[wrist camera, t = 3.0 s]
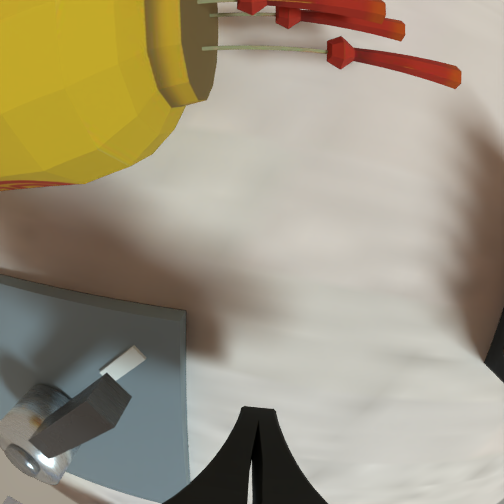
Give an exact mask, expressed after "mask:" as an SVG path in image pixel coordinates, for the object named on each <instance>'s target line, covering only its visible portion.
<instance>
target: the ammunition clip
mask: <svg viewBox="0 0 504 504" xmlns="http://www.w3.org/2000/svg"><path fill="white" fill-rule="evenodd" d="M484 363H485V365H486V366H487V367H488V368H489V369H490V370H491V371H493V372H494V373H495V374H496V376H497V377H498V378H499V379H500V380H501V381H502V382H503V383H504V308H503V311H502V315H501V318H500V321H499V324H498V327H497V330H496V333H495V336H494V339H493V341H492V344H491V347H490V349H489V352H488V355H487V357H486V360H485V362H484Z"/></svg>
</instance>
